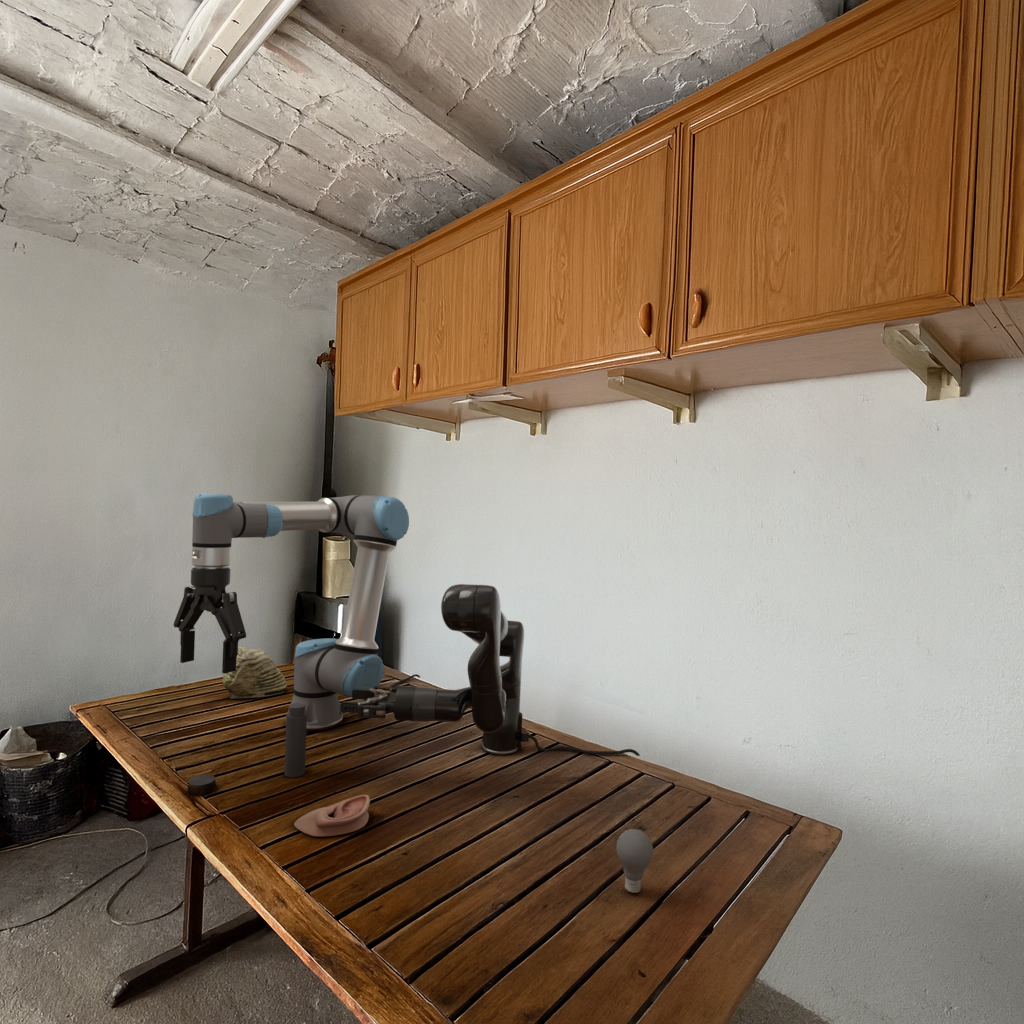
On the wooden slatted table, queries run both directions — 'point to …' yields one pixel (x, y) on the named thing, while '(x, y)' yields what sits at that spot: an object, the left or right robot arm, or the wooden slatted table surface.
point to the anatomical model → (336, 818)
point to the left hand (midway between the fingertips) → (207, 666)
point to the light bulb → (634, 857)
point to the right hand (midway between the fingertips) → (346, 700)
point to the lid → (201, 785)
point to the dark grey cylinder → (295, 740)
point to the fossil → (254, 675)
